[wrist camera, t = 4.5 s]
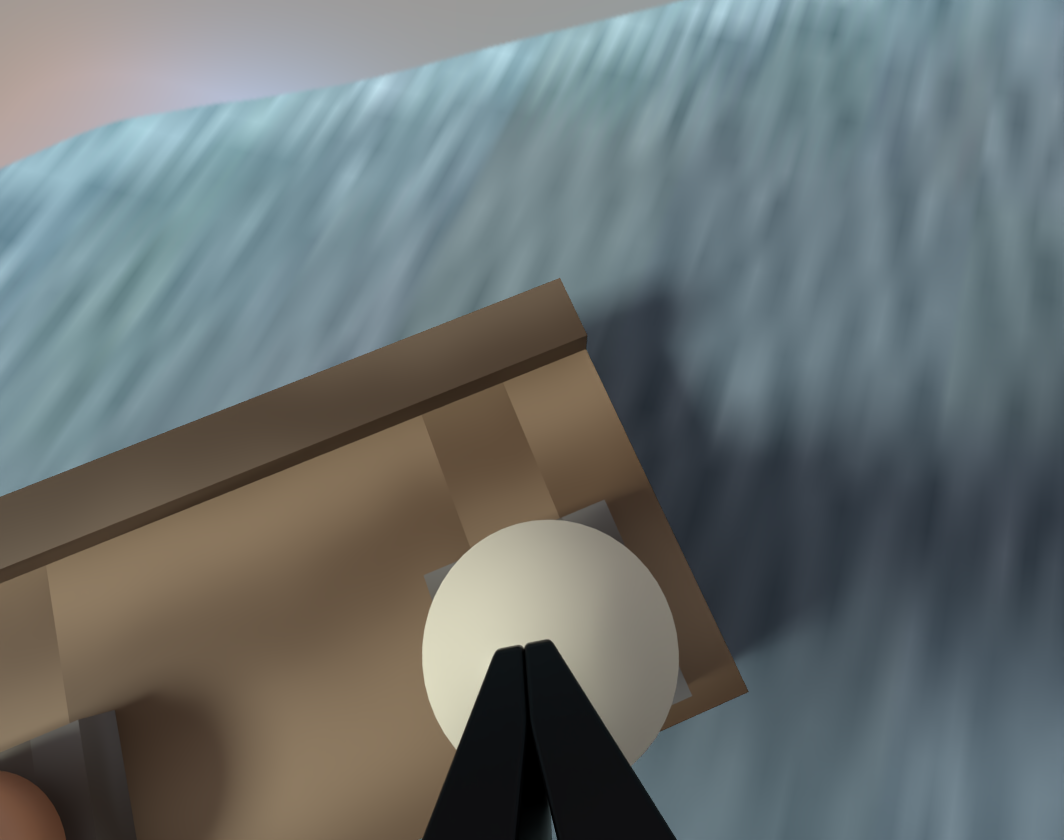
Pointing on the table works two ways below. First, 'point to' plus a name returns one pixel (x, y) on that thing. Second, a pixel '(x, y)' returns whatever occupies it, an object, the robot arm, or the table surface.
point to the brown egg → (26, 811)
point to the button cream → (555, 625)
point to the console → (307, 585)
